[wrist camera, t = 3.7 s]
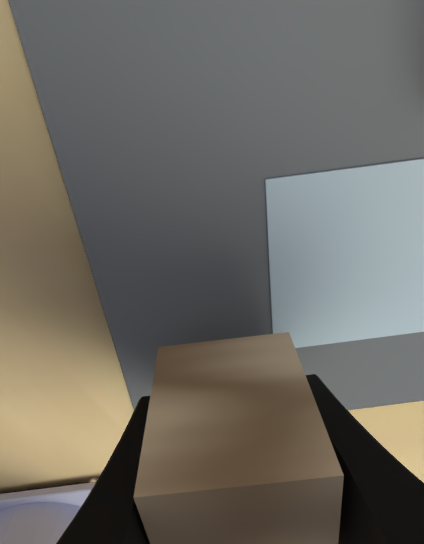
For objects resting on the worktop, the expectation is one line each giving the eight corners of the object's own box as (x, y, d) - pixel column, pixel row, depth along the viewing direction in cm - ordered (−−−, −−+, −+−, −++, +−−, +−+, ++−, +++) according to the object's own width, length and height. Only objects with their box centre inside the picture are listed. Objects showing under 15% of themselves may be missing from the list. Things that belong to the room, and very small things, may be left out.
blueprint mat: (143, 426, 15) (141, 438, 15) (-14, -100, 8) (-29, -115, 7) (527, 377, 15) (540, 387, 15) (750, -203, 8) (793, -226, 7)
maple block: (179, 435, 12) (169, 596, 8) (158, 346, 11) (133, 497, 7) (290, 423, 12) (334, 580, 8) (288, 331, 11) (343, 475, 7)
